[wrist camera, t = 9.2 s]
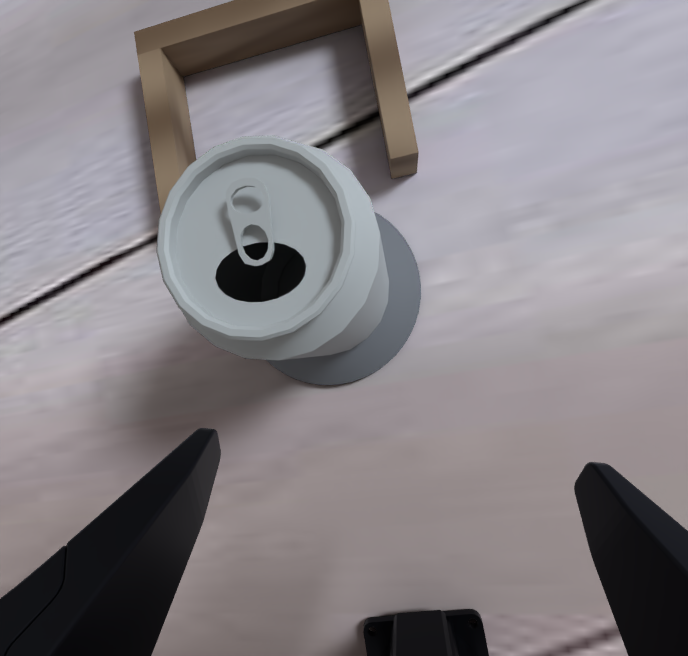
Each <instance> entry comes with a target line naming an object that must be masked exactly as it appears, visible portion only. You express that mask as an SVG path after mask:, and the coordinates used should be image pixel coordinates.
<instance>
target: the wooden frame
mask: <svg viewBox="0 0 688 656" xmlns="http://www.w3.org/2000/svg"><path fill="white" fill-rule="evenodd" d="M358 25H362V28H363V33H364V38H365V43H366V48H367V53H368V59H369V64H370V69H371V74H372V79H373V85H374V90H375V95H376V100H377V105H378V111H379V116H380V121H381V126H382V131H383V137H384V142H385V147H386V152H387V157H388V163H389V168H390V173H391V178H392V179H393V178H398V177H402V176H406V175H410V174H414V173H417V163H418V148H417V143H416V137H415V132H414V127H413V122H412V117H411V112H410V107H409V102H408V97H407V92H406V87H405V82H404V77H403V72H402V67H401V62H400V57H399V52H398V47H397V42H396V37H395V32H394V27H393V22H392V17H391V12H390V7H389V2H388V0H234V1H231V2H228V3H224V4H221V5H218V6H215V7H212V8H208V9H205V10H202V11H199V12H196V13H193V14H189V15H186V16H183V17H180V18H177V19H174V20H170V21H167V22H164V23H161V24H158V25H155V26H151V27H148V28H145V29H142V30H139V31H136V32H134V35H135V41H136V48H137V55H138V62H139V69H140V76H141V82H142V89H143V96H144V103H145V110H146V117H147V123H148V130H149V137H150V144H151V151H152V158H153V165H154V171H155V178H156V185H157V192H158V199H159V206H160V212H161V213H162V210H163V208H164V205H165V202H166V200H167V197H168V194H169V192H170V190H171V189H172V187H173V186H174V185H175V183H176V182H177V181H178V179H179V178H180V177H181V175H182V174H183V173H184V171H185V170H186V169H187V167H188V166H189V165H190V164H192V163H193V162H194V161H196V155H195V149H194V142H193V136H192V129H191V123H190V116H189V110H188V104H187V97H186V91H185V84H184V78H183V77H184V76H188V75H191V74H194V73H198V72H201V71H205V70H208V69H211V68H215V67H218V66H222V65H225V64H229V63H232V62H235V61H239V60H242V59H246V58H249V57H252V56H256V55H259V54H263V53H266V52H269V51H273V50H276V49H280V48H283V47H287V46H290V45H293V44H297V43H300V42H304V41H307V40H310V39H314V38H317V37H321V36H324V35H328V34H331V33H334V32H338V31H341V30H345V29H348V28H351V27H355V26H358Z"/></svg>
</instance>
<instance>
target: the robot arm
mask: <svg viewBox="0 0 688 656" xmlns="http://www.w3.org/2000/svg"><path fill="white" fill-rule="evenodd" d="M220 456H221V450H220V445H219V439H218V433H217V431H216V430H215V429H208V428H200V429H198V430H196V431H195V432H194V433H193V434H192V435H190V436H189V437H188V438H187V439H186V440H185V441H184V442H182V443H181V444H180V445H179V446H178V447H177V448H176V449H174V450H173V451H172V452H171V453H170V454H169V455H167V456H166V457H165V458H164V459H163V460H162V461H161V462H159V463H158V464H157V465H156V466H155V467H154V468H153V469H151V470H150V471H149V472H148V473H147V474H146V475H145V476H143V477H142V478H141V479H140V480H139V481H138V482H137V483H135V484H134V485H133V486H132V487H131V488H130V489H129V490H127V491H126V492H125V493H124V494H123V495H122V496H120V497H119V498H118V499H117V500H116V501H115V502H114V503H112V504H111V505H110V506H109V507H108V508H107V509H106V510H104V511H103V512H102V513H101V514H100V515H99V516H98V517H96V518H95V519H94V520H93V521H92V522H91V523H90V524H88V525H87V526H86V527H85V528H84V529H83V530H81V531H80V532H79V533H78V534H77V535H76V536H75V537H73V538H72V539H71V540H70V541H69V542H68V543H67V546H63V547H62V548H61V549H60V550H58V551H57V552H56V553H55V554H54V555H53V556H51V557H50V558H49V559H48V560H47V561H46V562H45V563H43V564H42V565H41V566H40V567H39V568H37V569H36V570H35V571H34V572H33V573H31V574H30V575H29V576H28V577H27V578H25V579H24V580H23V581H22V582H21V583H20V584H18V585H17V586H16V587H15V588H13V589H12V590H11V591H9V592H8V593H7V594H6V595H4V596H3V597H2V598H1V599H0V656H151V655H152V652H153V650H154V647H155V645H156V642H157V640H158V637H159V634H160V632H161V629H162V627H163V624H164V622H165V619H166V616H167V614H168V611H169V609H170V606H171V604H172V601H173V598H174V596H175V593H176V591H177V588H178V586H179V583H180V580H181V578H182V575H183V573H184V570H185V568H186V565H187V562H188V560H189V557H190V555H191V552H192V550H193V547H194V544H195V542H196V539H197V537H198V534H199V532H200V529H201V526H202V523H203V520H204V517H205V513H206V510H207V506H208V502H209V499H210V495H211V491H212V488H213V484H214V480H215V476H216V473H217V469H218V465H219V462H220ZM574 490H575V495H576V499H577V503H578V507H579V511H580V514H581V518H582V522H583V526H584V530H585V533H586V537H587V541H588V545H589V548H590V552H591V555H592V558H593V561H594V564H595V567H596V570H597V572H598V575H599V578H600V581H601V583H602V586H603V589H604V591H605V594H606V597H607V599H608V602H609V605H610V607H611V610H612V613H613V615H614V618H615V621H616V624H617V626H618V629H619V632H620V634H621V637H622V640H623V642H624V645H625V648H626V650H627V653H628V656H688V531H687V530H686V529H685V528H684V527H682V526H681V525H680V524H679V523H678V522H677V521H675V520H674V519H673V518H672V517H671V516H669V515H668V514H667V513H666V512H665V511H663V510H662V509H661V508H660V507H659V506H658V505H656V504H655V503H654V502H653V501H652V500H650V499H649V498H648V497H647V496H646V495H644V494H643V493H642V492H641V491H640V490H639V489H637V488H636V487H635V486H634V485H633V484H631V483H630V482H629V481H628V480H627V479H625V478H624V477H623V476H622V475H621V474H620V473H618V472H617V471H616V470H615V469H614V468H612V467H611V466H610V465H608V464H605V463H597V462H589V463H587V464H586V465H585V467H584V469H583V470H582V472H581V474H580V475H579V477H578V479H577V480H576V482H575V486H574ZM470 619H475V620H476V622H475V623H470V622H468V621H469V620H470ZM370 627H374V628H375V629H376V631H371V630H370V629H369V628H370ZM364 638H365V644H366V650H367V656H489V654H488V648H487V643H486V638H485V633H484V628H483V623H482V619H481V616H480V614H479V613H478V612H477V611H476V610H474V609H464V610H453V611H441V610H433V611H421V612H410V613H398V614H397V615H394V616H383V617H371V618H368V619H367V620H366V621H365V623H364Z"/></svg>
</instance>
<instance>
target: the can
mask: <svg viewBox="0 0 688 656" xmlns="http://www.w3.org/2000/svg"><path fill="white" fill-rule="evenodd" d="M157 256H158V260H159V265H160V269H161V273H162V278H163V282H164V283H165V285H166V287H167V289H168V290H169V292H170V294H171V295H172V297H173V299H174V300H175V302H176V304H177V305H178V307H179V308H180V309H181V311H182V312H183V314H184V316H185V317H186V319H187V321H188V322H189V324H190V325H191V326H192V327H193V328H194V329H195V330H197V331H198V332H199V333H200V334H201V335H202V336H204V337H205V338H206V339H207V340H208V341H209V342H210V343H212V344H213V345H214V346H216V347H218V348H221V349H223V350H226V351H228V352H231V353H233V354H235V355H238V356H240V357H243V358H246V359H264V360H287V359H297V358H306V357H316V356H325V355H332V354H336V353H339V352H343V351H347V350H350V349H352V348H353V347H355V346H356V345H358V344H359V343H361V342H362V341H364V340H365V339H367V338H368V337H369V336H370V334H371V333H372V332H373V331H374V329H375V328H376V327H377V326H378V324H379V323H380V322H381V319H382V317H383V314H384V311H385V309H386V306H387V304H388V293H389V278H388V273H387V268H386V262H385V257H384V252H383V246H382V241H381V236H380V231H379V228H378V224H377V220H376V217H375V213H374V210H373V206H372V203H371V199H370V197H369V196H368V194H367V193H366V191H365V190H364V189H363V187H362V186H361V184H360V183H359V181H358V180H357V178H356V177H355V176H354V174H353V173H352V171H351V170H350V169H349V168H347V167H346V166H345V165H343V164H342V163H340V162H339V161H338V160H336V159H335V158H334V157H332V156H331V155H329V154H328V153H327V152H325V151H324V150H321V149H318V148H315V147H312V146H308V145H305V144H302V143H298V142H295V141H292V140H287V139H283V138H280V137H277V136H245V137H240V138H238V139H235V140H232V141H229V142H226V143H224V144H221V145H218V146H215V147H213V148H212V149H210V150H209V151H208V152H206V153H205V154H204V155H202V156H201V157H200V158H198V159H197V160H196V161H194V162H193V163H192V164H190V165H189V166H188V167H187V169H186V170H185V171H184V173H183V174H182V175H181V177H180V178H179V179H178V181H177V182H176V183H175V185H174V186H173V187H172V189H171V190H170V192H169V194H168V197H167V200H166V202H165V205H164V208H163V210H162V213H161V216H160V218H159V223H158V238H157Z"/></svg>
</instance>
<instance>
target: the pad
mask: <svg viewBox="0 0 688 656" xmlns="http://www.w3.org/2000/svg"><path fill="white" fill-rule="evenodd" d="M374 213H375V212H374ZM375 217H376V220H377V224H378V228H379V231H380V236H381V241H382V246H383V252H384V257H385V262H386V268H387V273H388V278H389V293H388V304H387V306H386V309H385V311H384V314H383V317H382V319H381V322H380V323H379V324H378V326H377V327H376V328H375V329H374V331H373V332H372V333H371V334H370V336H369V337H368V338H367V339H365V340H364V341H362V342H361V343H359V344H358V345H356V346H355V347H353V348H352V349H350V350H347V351H343V352H339V353H336V354H332V355H325V356H316V357H306V358H297V359H287V360H267V361H268V362H269V363H270V364H271V365H272V366H274V367H275V368H276V369H278V370H279V371H281V372H283V373H284V374H286V375H288V376H290V377H292V378H294V379H297V380H300V381H303V382H307V383H312V384H318V385H336V384H344V383H348V382H352V381H356V380H359V379H361V378H364V377H366V376H368V375H370V374H372V373H374V372H375V371H377V370H379V369H380V368H381V367H383V366H384V365H385V364H387V363H388V362H389V361H390V360H391V359H392V358H393V357H394V356H395V355H396V354H397V353H398V352H399V350H400V349H401V348H402V347H403V345H404V344H405V342H406V341H407V339H408V337H409V336H410V334H411V332H412V329H413V327H414V325H415V322H416V319H417V315H418V312H419V306H420V299H421V284H420V276H419V271H418V267H417V263H416V260H415V258H414V255H413V253H412V251H411V249H410V247H409V245H408V244H407V242H406V240H405V239H404V237H403V236H402V235H401V234H400V232H399V231H398V230H397V229H396V228H395V227H394V226H393V225H392V224H391V223H390V222H389V221H387V220H386V219H385V218H383V217H382V216H381V215H379V214H377V213H375Z"/></svg>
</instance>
